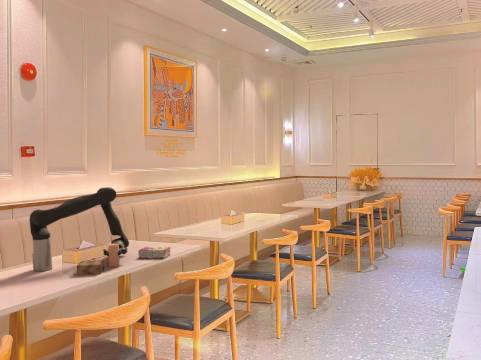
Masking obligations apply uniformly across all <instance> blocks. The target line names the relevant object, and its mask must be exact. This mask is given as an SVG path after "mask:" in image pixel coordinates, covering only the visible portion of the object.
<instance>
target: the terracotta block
mask: <svg viewBox="0 0 481 360" xmlns="http://www.w3.org/2000/svg"><path fill="white" fill-rule="evenodd" d="M107 247H108V249H107V250H108V252H109V256H108V266H109V268H117V267H119V266H120V255H119V256H118V251H119V244H111V243H109V244H108V246H107Z"/></svg>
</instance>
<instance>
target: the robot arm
mask: <svg viewBox="0 0 481 360" xmlns="http://www.w3.org/2000/svg"><path fill="white" fill-rule="evenodd" d="M116 197H117V192H116V190H115V188H112V187H107V186H106V187H100V188H98V189H97V192H95V193H91V194H85V195H80V196H77V197H74V198H71V199H68V200H66V201H65V202H63V203H60V204H59V205H58V206H55V207H52V208H49V209H35V210H33V211H31V213H30V215H29V228H30V234H31V237H32V250H33V251H32V252H33V253H32V255H31V256H32V270H33V272H45V271H49V270H52V269H53V260H52V259H53V257H52V243H51V242H52V241H51V240H52V239H51V232H50V231H49V230H48V226H49V225H51V224H53V223H56V222H57V221H60V220H62V219H66V218H69V217H72V216H75V215H78V214H81V213H84V212H85V211H88V210H90V209H93V208H95V207H97V206H100V207H101V209H102V212H103V214H104V215H105V216H104V217H105V219H106V221H107V224H108V228H109V232H110V234H111V235H112V236H118V238H114V239H112V240H111V243H110V244H119V251H118V256H119V257H120V256H121V255H126V254H127V253H128V252H129V251H128V247H129V245H130V241H129V239H128V238H127V236H126V234H125V232H124V231H123V227H122V225H121V224H122V223H121V222H120V219H119V217H118V215H117V214H116V212H115V211H114V209H113V206H112V202H113V201H115V199H116ZM102 253H103V256H106V257H109V252H108V249H103V250H102Z"/></svg>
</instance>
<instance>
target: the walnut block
mask: <svg viewBox="0 0 481 360" xmlns="http://www.w3.org/2000/svg"><path fill="white" fill-rule="evenodd" d="M104 269H105V260H104V259H95V260H94V259H93V260H92V259H91V260H81V261H79V262H78V264H77V265H76V275H77V276H85V275H86V276H89V275H90V276H91V275H101V274H102V272H103V271H104Z"/></svg>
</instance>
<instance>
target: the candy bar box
mask: <svg viewBox="0 0 481 360" xmlns="http://www.w3.org/2000/svg"><path fill="white" fill-rule="evenodd" d="M170 255H171V247H170V246H145V247H143V248H141V249H138V258H139V259H164V258H166V257H167V258H168V257H169V256H170Z"/></svg>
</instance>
